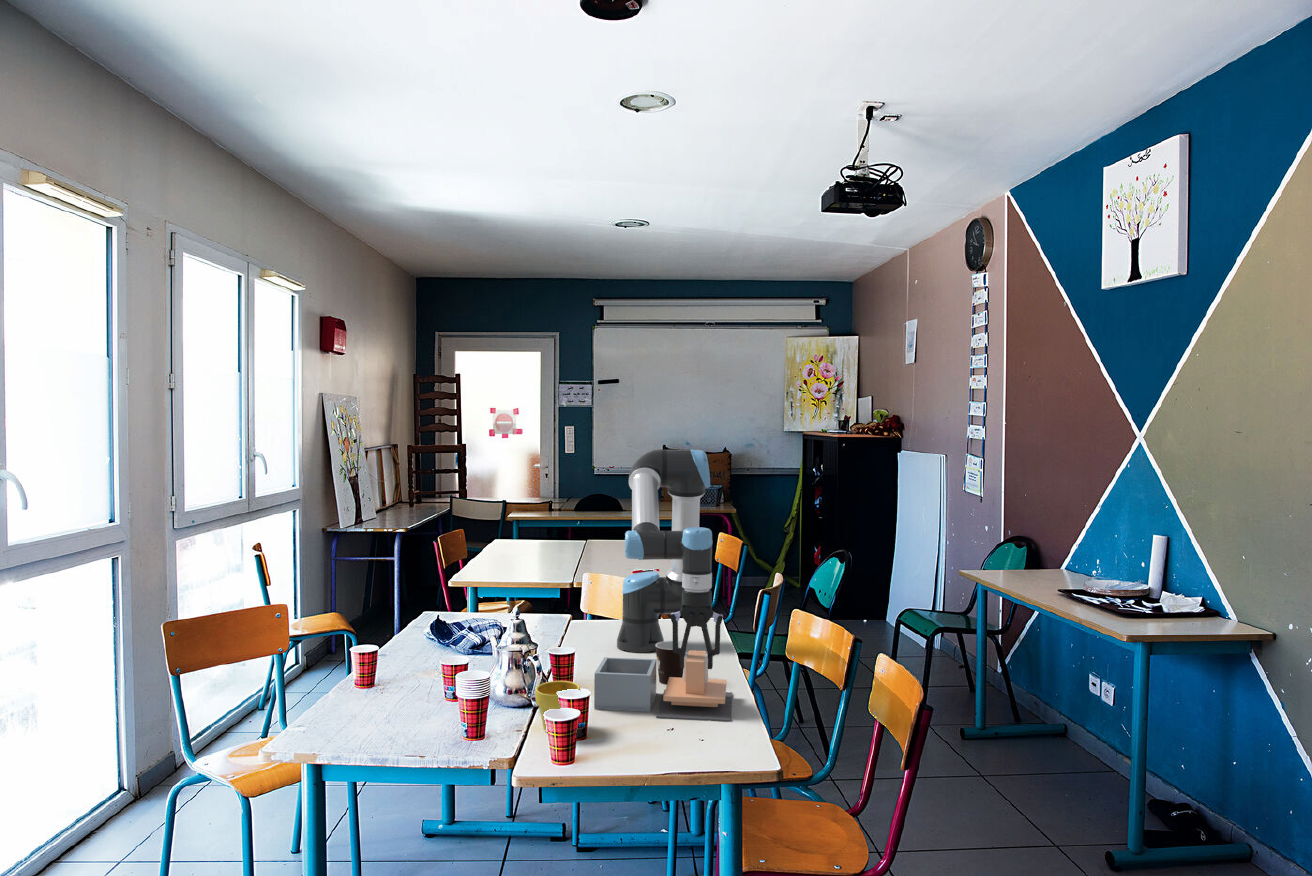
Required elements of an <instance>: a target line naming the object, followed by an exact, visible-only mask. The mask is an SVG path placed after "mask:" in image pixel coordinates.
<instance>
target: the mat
mask: <svg viewBox="0 0 1312 876" xmlns="http://www.w3.org/2000/svg"><path fill="white" fill-rule="evenodd" d="M665 690H666V688H665V689H663V692H662V696H661V700H660V702H659V706H658V709H657V713H656V716H655V717H656V719H669V720H672V719H673V720H687V721H688V720H689V721H690V720H691V721H693V720H694V721H708V720H711V721H713V722H729V721H731V722H732V707H733V705H732V702H733V692H731V691H729V692H728V691H726V695H725V704H718V707H705V706H684V705H671V701H663V696H664V693H665ZM711 721H710V722H711Z"/></svg>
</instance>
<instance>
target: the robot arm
mask: <svg viewBox="0 0 1312 876" xmlns="http://www.w3.org/2000/svg"><path fill="white" fill-rule="evenodd" d="M709 467H710V466H709V461H708V456H707V453H706V452H705V451H704V450H701V449H692V448H691V449H690V448H688V449H686V448H685V449H653V450H651V451H648V452H646V453H644V454H642V455H641V456H640V457H639V458H638V459H637V460H636V461H635V462H634V463H633V465H632V466H631V468H630V470H629V475H628V486H629V489H630V490H632V491H631V505H632V506H631V530H627V531H625V533H624V536H625V537H624V556H625V558H626V559H628V560H629V559H630V560H638V561H643V560H670V567H669V568H668V569H667V570H666V571H665V572H666V573H665V576H662V577H661V576H660V574H659V573H658V572H657V571H643V572H637V573H633V574H630V575H627V576H625V577H624V579H623V581H622V591H621V594H622V622H621V626H620V629H619V632H618V635H617V638H616V647H617V649H618V650H621V649H622V650H621V651H624V650H626V651H625V652H628V651H630V652H629V653H651V652H650V651H653V652H656V646H655V645H656V644H657V643H659V642H664V641H665V639H664V638H665V637H664V636H663V633H662V628H661V625H660V622H659V616H660V615H670V616H669V618H670V621H671V623H672V641H673V653H677V654H679V656H680V668H684V670H683V678H684V682H686V659H687V656H688V653H685V650H686V651H687V646H688V641H689V637H690V633H691V629H692V628H693V627H699V628H700V629H701V631H702V635H703V640H704V645H705V649H706V650H705V651H706V654H705V683H708V679H709V670H712V669H713V665H714V664H713V663H714V660H713V659H714V656H718V655H720V653H721V651H720V650H721V624H722V622H723V619H724V615H723V614H722V613H717V612H714V609H713V607H712V605H713V603H712V590H711V589H713V588H712V587H713V585H712V584H713V583H712V582H713V580H712V579H713V571H712V564H713V562H712V560H713V557H712V556H713V545H714V544H713V542H714V541H713V532H712V530H711V529H710V528H707V527H700V509H701V507H700V506H701V498H702V497H703V496H704V495H705V494H706V489H708V488H710V487H711V477H710V468H709ZM660 488H667V494H668V495H670V497H671V498H672V501H671V503H672V504H671V505H672V506H671V508H672V510H671V512H672V513H671V530H660V512H659V511H660V510H659V492H658V491H659V489H660ZM680 617H681V618H682V619H683V620H684V621H685V623H686V626H685V630H684V633H683V639H682V641H681V642H682V646H681V648H679V647H678V642H679V621H680V619H681V618H680ZM711 618H713V622H714V623H715V628H714V630H715V631H714V648H713V646H712V642H711V638H710V633H709V629H708V628H709V627H708V622H710V620H711Z"/></svg>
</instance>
